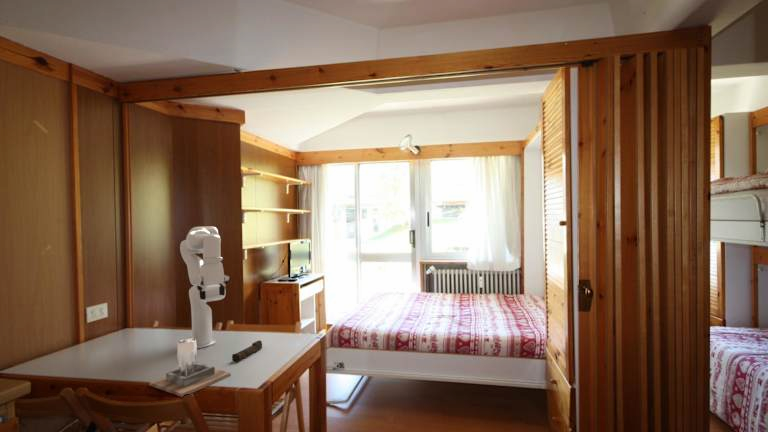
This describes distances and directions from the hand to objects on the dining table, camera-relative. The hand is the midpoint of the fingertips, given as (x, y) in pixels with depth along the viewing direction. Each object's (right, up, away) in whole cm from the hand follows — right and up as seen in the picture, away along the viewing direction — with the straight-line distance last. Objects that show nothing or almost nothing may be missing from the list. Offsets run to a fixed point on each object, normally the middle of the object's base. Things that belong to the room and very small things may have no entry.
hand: (212, 297), depth 167 cm
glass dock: (+3, -28, -25) cm, 37 cm away
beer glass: (+2, -27, -25) cm, 37 cm away
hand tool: (+16, -29, +3) cm, 33 cm away
